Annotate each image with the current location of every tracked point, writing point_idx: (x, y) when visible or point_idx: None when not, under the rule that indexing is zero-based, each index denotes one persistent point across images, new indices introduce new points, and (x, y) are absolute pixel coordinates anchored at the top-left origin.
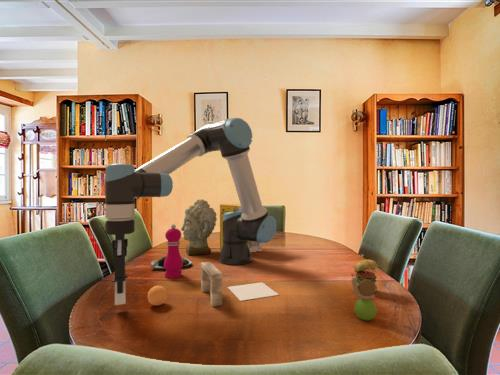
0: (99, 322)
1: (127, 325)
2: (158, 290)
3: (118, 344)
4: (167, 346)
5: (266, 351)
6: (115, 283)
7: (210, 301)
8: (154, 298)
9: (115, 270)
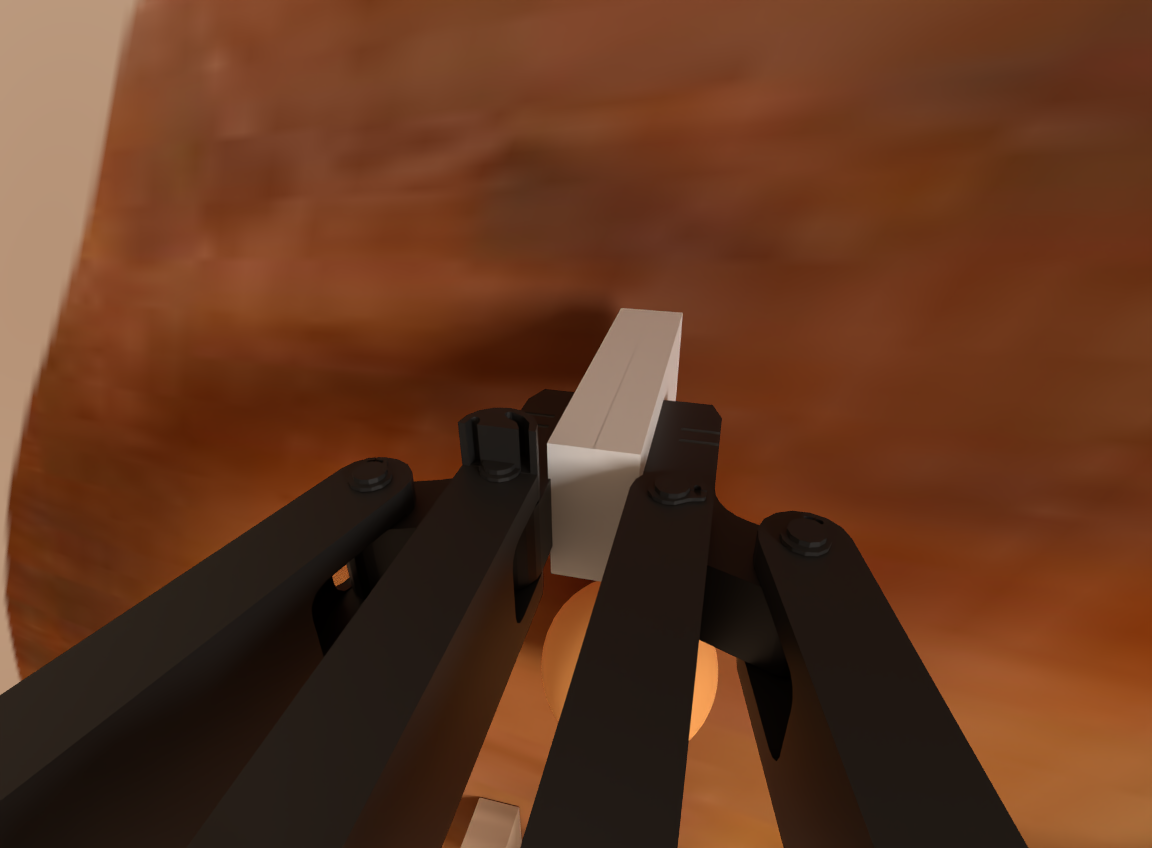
0: (437, 146)
1: (333, 365)
2: (555, 710)
3: (91, 294)
4: (84, 508)
5: None
6: (557, 436)
7: (511, 823)
8: (548, 630)
9: (166, 601)
